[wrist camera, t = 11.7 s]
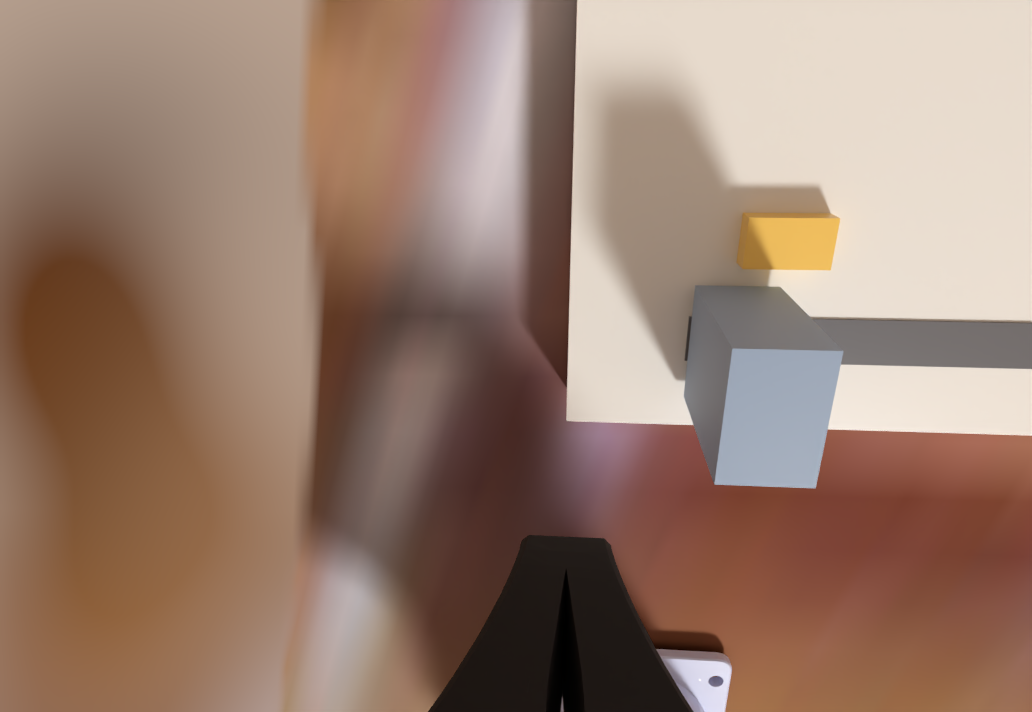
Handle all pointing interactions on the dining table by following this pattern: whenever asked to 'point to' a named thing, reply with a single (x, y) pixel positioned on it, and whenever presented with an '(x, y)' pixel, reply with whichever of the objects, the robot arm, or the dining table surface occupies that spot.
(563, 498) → the dining table surface
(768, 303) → the grey rectangular block
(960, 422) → the switch board
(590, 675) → the robot arm
